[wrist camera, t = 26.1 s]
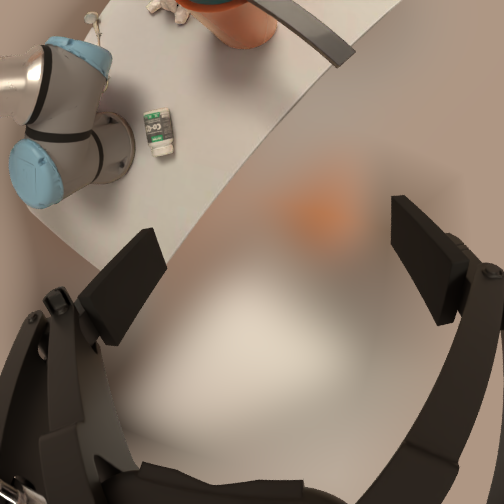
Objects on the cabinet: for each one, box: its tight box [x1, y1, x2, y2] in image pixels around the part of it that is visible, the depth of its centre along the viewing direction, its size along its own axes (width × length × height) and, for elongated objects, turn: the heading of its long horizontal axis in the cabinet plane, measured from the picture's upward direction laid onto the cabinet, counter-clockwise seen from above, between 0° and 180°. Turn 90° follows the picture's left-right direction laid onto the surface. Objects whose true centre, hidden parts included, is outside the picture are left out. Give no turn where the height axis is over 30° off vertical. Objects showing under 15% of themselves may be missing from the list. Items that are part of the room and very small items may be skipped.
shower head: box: [84, 12, 110, 93], centre depth 38 cm, size 5×3×20 cm
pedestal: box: [175, 0, 277, 49], centre depth 27 cm, size 11×11×21 cm
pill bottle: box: [143, 108, 173, 157], centre depth 45 cm, size 5×5×8 cm
